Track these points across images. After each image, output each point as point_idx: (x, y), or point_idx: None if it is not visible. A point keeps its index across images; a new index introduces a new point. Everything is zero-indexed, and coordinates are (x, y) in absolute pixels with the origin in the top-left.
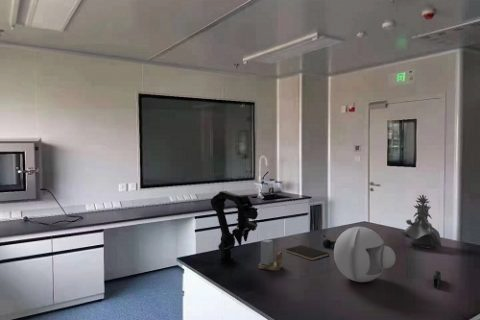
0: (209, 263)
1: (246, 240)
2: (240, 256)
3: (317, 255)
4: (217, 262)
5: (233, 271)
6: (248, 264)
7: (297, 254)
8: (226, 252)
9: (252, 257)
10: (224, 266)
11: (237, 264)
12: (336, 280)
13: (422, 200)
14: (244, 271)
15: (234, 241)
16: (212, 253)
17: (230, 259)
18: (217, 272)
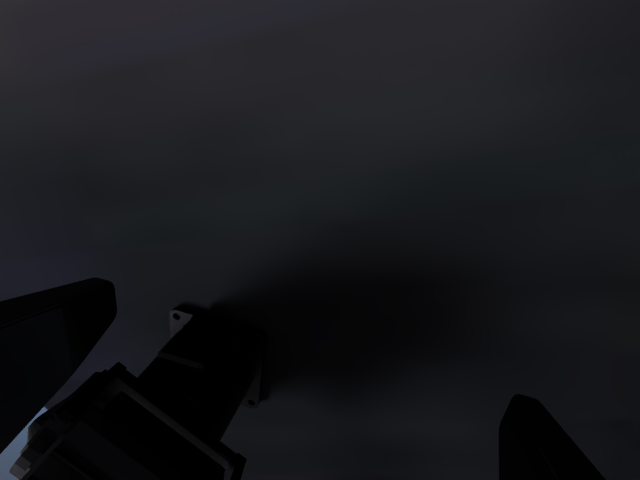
0: (371, 467)
1: (93, 288)
2: (119, 243)
3: None
4: (334, 415)
5: (609, 260)
6: (334, 120)
7: None
8: (223, 407)
9: (98, 115)
10: (437, 358)
11: (357, 244)
12: None
13: None
14: (618, 126)
15: (84, 437)
16: None
17: (238, 323)
18: (634, 407)
